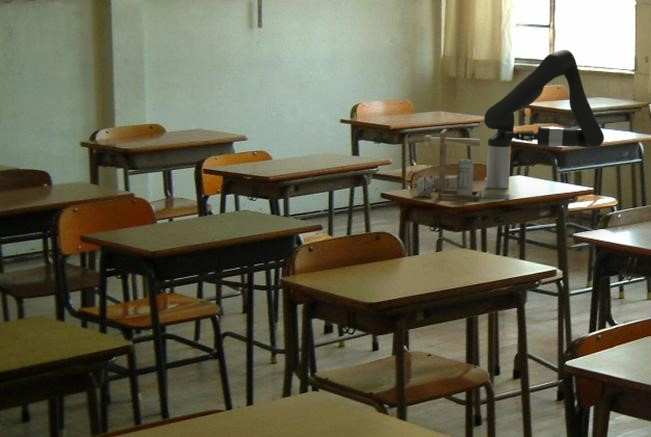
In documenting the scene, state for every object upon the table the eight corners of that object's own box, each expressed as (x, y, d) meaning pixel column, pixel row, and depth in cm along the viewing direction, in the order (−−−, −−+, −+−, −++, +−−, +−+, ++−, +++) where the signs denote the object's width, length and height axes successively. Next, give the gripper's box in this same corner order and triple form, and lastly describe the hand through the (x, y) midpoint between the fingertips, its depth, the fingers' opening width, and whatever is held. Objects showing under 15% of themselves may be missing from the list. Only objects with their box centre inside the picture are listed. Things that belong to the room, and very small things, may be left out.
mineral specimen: (456, 187, 501) (456, 172, 500) (464, 190, 495) (465, 175, 494) (428, 189, 497) (429, 174, 496) (436, 191, 490) (437, 176, 489)
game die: (427, 205, 481) (441, 184, 482) (427, 200, 472) (441, 179, 473) (408, 192, 482) (422, 172, 483) (407, 188, 474) (422, 167, 475)
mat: (484, 194, 485) (484, 193, 485) (509, 195, 483) (509, 194, 483) (482, 198, 475) (482, 197, 475) (508, 199, 473) (508, 198, 473)
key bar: (425, 144, 477) (426, 135, 476) (479, 146, 473) (480, 137, 472) (424, 145, 473) (424, 136, 472) (478, 147, 469) (479, 138, 468)
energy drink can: (475, 198, 476) (476, 160, 473) (466, 200, 471) (467, 161, 469) (462, 196, 480) (464, 158, 477) (453, 198, 475) (454, 159, 472)
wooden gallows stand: (441, 194, 483) (443, 128, 479) (480, 196, 481) (483, 130, 476) (438, 199, 471) (440, 132, 466) (478, 201, 468) (481, 134, 463)
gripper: (550, 125, 472) (505, 123, 475) (550, 128, 459) (504, 126, 463) (549, 144, 474) (504, 142, 477) (549, 148, 461) (503, 146, 464)
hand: (504, 134), depth 470 cm, fingers closed
